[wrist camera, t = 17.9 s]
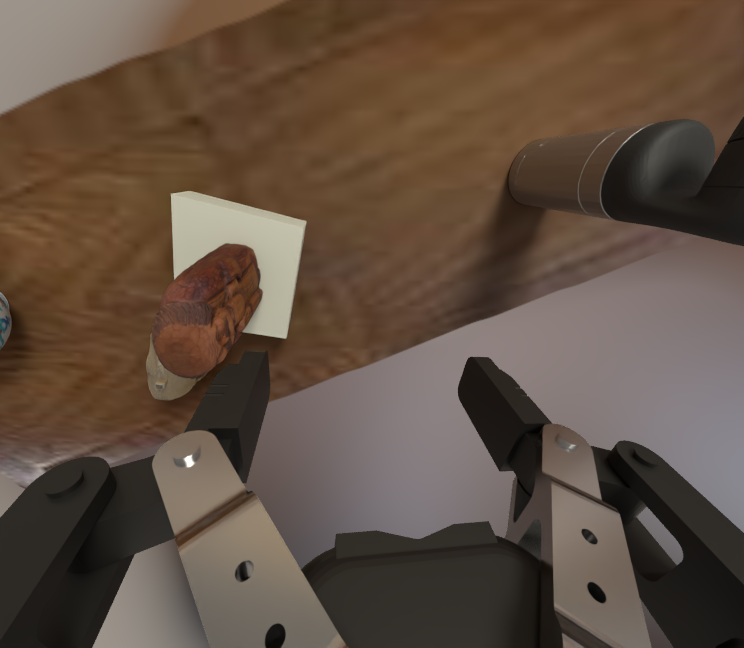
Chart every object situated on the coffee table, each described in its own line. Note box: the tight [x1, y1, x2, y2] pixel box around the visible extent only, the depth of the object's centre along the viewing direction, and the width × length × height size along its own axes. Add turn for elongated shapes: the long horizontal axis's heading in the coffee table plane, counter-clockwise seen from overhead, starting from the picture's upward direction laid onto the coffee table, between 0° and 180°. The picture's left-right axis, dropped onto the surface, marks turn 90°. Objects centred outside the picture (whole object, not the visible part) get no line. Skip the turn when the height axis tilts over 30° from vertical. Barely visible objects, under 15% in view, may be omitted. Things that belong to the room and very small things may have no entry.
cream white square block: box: [171, 191, 307, 339], centre depth 43 cm, size 16×18×6 cm
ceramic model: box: [146, 333, 206, 400], centre depth 46 cm, size 14×11×10 cm
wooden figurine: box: [151, 243, 263, 379], centre depth 32 cm, size 12×6×18 cm, turn 173°
